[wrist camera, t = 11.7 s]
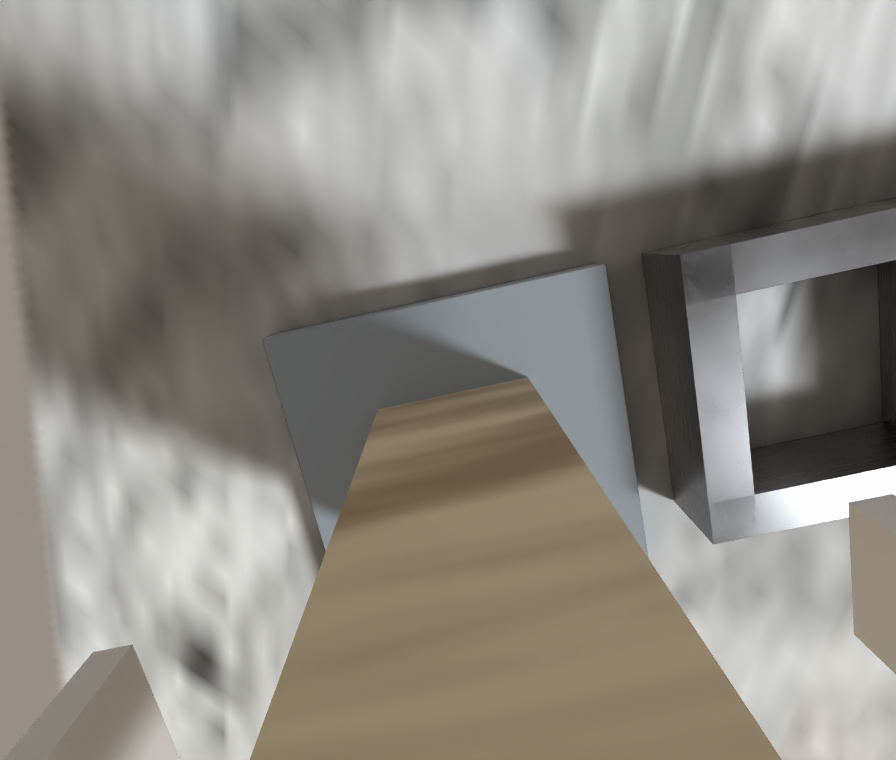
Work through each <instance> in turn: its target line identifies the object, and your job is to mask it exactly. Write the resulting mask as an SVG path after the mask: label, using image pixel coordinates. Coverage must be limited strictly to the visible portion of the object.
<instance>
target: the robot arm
mask: <svg viewBox="0 0 896 760" xmlns="http://www.w3.org/2000/svg"><path fill="white" fill-rule="evenodd" d="M848 509H849V531H850V553H851V576H852V598H853V620H854V635H855V636H856V637H858V638H859V639H860V640H861V641H862V642H863V643H864V644H865V645H866V646H867V647H868V648H869V649H870V650H871V651H872V652H873V653H874V654H875V655H876V656H877V657H878V658H879V659H881V660H882V661H883V662H884V663H885V664H886V665H887V666H888V667H889V668H890V669H891V670H892V671H893V672H894V673H895V674H896V495H894V494H887V495H882V496H877V497H872V498H867V499H862V500H857V501H852V502H848ZM3 760H180V758H179V755H178V753H177V750H176V748H175V746H174V743H173V741H172V738H171V736H170V734H169V731H168V729H167V726H166V724H165V722H164V719H163V717H162V714H161V712H160V710H159V707H158V705H157V702H156V700H155V698H154V695H153V693H152V690H151V688H150V686H149V683H148V681H147V678H146V676H145V674H144V671H143V669H142V666H141V664H140V662H139V659H138V657H137V654H136V652H135V650H134V647H133V645H128V646H123V647H118V648H113V649H108V650H103V651H98V652H93V653H92V654H91V655H90V656H89V658H88V659H87V660H86V661H85V662H84V664H83V665H82V666H81V667H80V668H79V670H78V671H77V672H76V673H75V674H74V676H73V677H72V678H71V679H70V680H69V682H68V683H67V684H66V685H65V686H64V687H63V689H62V690H61V691H60V692H59V693H58V695H57V696H56V697H55V698H54V699H53V701H52V702H51V703H50V704H49V705H48V707H47V708H46V709H45V710H44V711H43V713H42V714H41V715H40V716H39V717H38V718H37V720H36V721H35V722H34V723H33V724H32V726H31V727H30V728H29V729H28V730H27V732H26V733H25V734H24V735H23V737H22V738H21V739H20V740H19V741H18V742H17V743H16V745H15V746H14V747H13V748H12V749H11V751H10V752H9V753H8V755H7V756H6V757H5V758H4V759H3Z"/></svg>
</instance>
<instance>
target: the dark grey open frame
mask: <svg viewBox="0 0 896 760" xmlns="http://www.w3.org/2000/svg"><path fill="white" fill-rule="evenodd" d="M642 258H643V266H644V274H645V281H646V289H647V297H648V304H649V312H650V320H651V327H652V335H653V342H654V350H655V358H656V365H657V373H658V381H659V388H660V396H661V404H662V411H663V419H664V426H665V434H666V442H667V449H668V457H669V465H670V472H671V480H672V488H673V495H674V502H675V503H676V504H677V505H678V506H679V507H680V508H681V509H682V510H683V511H684V512H685V514H686V515H687V516H688V517H689V518H690V519H691V520H692V521H693V522H694V523H695V525H696V526H697V527H698V528H699V529H700V530H701V531H702V532H703V533H704V534H705V536H706V537H707V538H708V539H709V540H710V541H711V542H712V543H713V544H717V543H722V542H727V541H732V540H737V539H742V538H747V537H752V536H757V535H762V534H767V533H772V532H777V531H782V530H787V529H792V528H797V527H802V526H807V525H812V524H817V523H822V522H827V521H832V520H837V519H842V518H847V517H849V509H848V502H852V501H857V500H862V499H867V498H872V497H877V496H882V495H887V494H894V495H896V197H895V198H891V199H886V200H882V201H877V202H873V203H868V204H864V205H859V206H854V207H850V208H845V209H841V210H836V211H832V212H827V213H823V214H818V215H814V216H809V217H804V218H800V219H795V220H791V221H786V222H782V223H777V224H773V225H768V226H764V227H759V228H754V229H750V230H745V231H741V232H736V233H732V234H727V235H723V236H718V237H713V238H709V239H704V240H700V241H695V242H691V243H686V244H682V245H677V246H673V247H668V248H663V249H659V250H654V251H650V252H645V253H642ZM875 264H878V279H879V310H880V340H881V371H882V401H883V422H881V423H877V424H872V425H867V426H862V427H857V428H852V429H847V430H843V431H838V432H833V433H828V434H823V435H818V436H813V437H809V438H804V439H799V440H794V441H789V442H784V443H780V444H775V445H770V446H765V447H760V448H755V449H750V442H749V432H748V421H747V410H746V399H745V389H744V378H743V367H742V357H741V346H740V335H739V325H738V314H737V303H736V294H741V293H745V292H750V291H754V290H759V289H764V288H768V287H773V286H778V285H782V284H787V283H791V282H796V281H801V280H805V279H810V278H815V277H819V276H824V275H828V274H833V273H838V272H842V271H847V270H852V269H856V268H861V267H866V266H870V265H875Z"/></svg>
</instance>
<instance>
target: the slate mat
mask: <svg viewBox="0 0 896 760" xmlns="http://www.w3.org/2000/svg"><path fill="white" fill-rule="evenodd" d="M262 341H263V344H264V348H265V351H266V354H267V358H268V361H269V364H270V368H271V371H272V374H273V378H274V381H275V384H276V388H277V391H278V394H279V398H280V401H281V404H282V408H283V411H284V414H285V418H286V421H287V424H288V428H289V431H290V434H291V438H292V441H293V444H294V448H295V451H296V454H297V458H298V461H299V464H300V468H301V471H302V474H303V478H304V481H305V484H306V488H307V491H308V494H309V498H310V501H311V504H312V508H313V511H314V514H315V518H316V521H317V524H318V528H319V531H320V534H321V538H322V541H323V544H324V548H325V551H326V550H327V547H328V545H329V542H330V539H331V536H332V534H333V531H334V528H335V525H336V523H337V520H338V517H339V514H340V512H341V509H342V506H343V504H344V501H345V498H346V495H347V493H348V490H349V487H350V484H351V482H352V479H353V476H354V473H355V471H356V468H357V465H358V463H359V460H360V457H361V454H362V452H363V449H364V446H365V443H366V441H367V438H368V435H369V432H370V430H371V427H372V424H373V422H374V419H375V416H376V413H377V411H378V409H382V408H387V407H392V406H396V405H401V404H406V403H410V402H415V401H419V400H424V399H429V398H433V397H438V396H443V395H447V394H452V393H456V392H461V391H466V390H470V389H475V388H480V387H484V386H489V385H493V384H498V383H503V382H507V381H512V380H517V379H521V378H526V377H528V378H529V379H530V381H531V382H532V384H533V385H534V387H535V388H536V390H537V391H538V393H539V395H540V396H541V398H542V399H543V401H544V402H545V404H546V405H547V407H548V408H549V410H550V411H551V413H552V414H553V416H554V417H555V419H556V420H557V422H558V423H559V425H560V426H561V428H562V429H563V431H564V432H565V434H566V435H567V437H568V438H569V440H570V441H571V443H572V444H573V446H574V447H575V449H576V450H577V452H578V453H579V455H580V456H581V458H582V459H583V461H584V462H585V464H586V465H587V467H588V468H589V470H590V471H591V473H592V474H593V476H594V477H595V479H596V480H597V482H598V484H599V485H600V487H601V488H602V490H603V491H604V493H605V494H606V496H607V497H608V499H609V500H610V502H611V503H612V505H613V506H614V508H615V509H616V511H617V512H618V514H619V515H620V517H621V518H622V520H623V521H624V523H625V524H626V526H627V527H628V529H629V530H630V532H631V533H632V535H633V536H634V538H635V539H636V541H637V542H638V544H639V545H640V547H641V548H642V550H643V551H644V553H645V554H646V556H647V557H648V552H647V546H646V539H645V532H644V525H643V518H642V512H641V505H640V498H639V491H638V484H637V477H636V471H635V464H634V457H633V450H632V443H631V437H630V430H629V423H628V416H627V409H626V403H625V396H624V389H623V382H622V375H621V369H620V362H619V355H618V348H617V341H616V335H615V328H614V321H613V314H612V307H611V300H610V294H609V287H608V280H607V273H606V266H605V264H598V263H595V264H591V265H586V266H582V267H577V268H573V269H568V270H563V271H559V272H554V273H550V274H545V275H541V276H536V277H532V278H527V279H523V280H518V281H513V282H509V283H504V284H500V285H495V286H491V287H486V288H482V289H477V290H472V291H468V292H463V293H459V294H454V295H450V296H445V297H441V298H436V299H432V300H427V301H422V302H418V303H413V304H409V305H404V306H400V307H395V308H391V309H386V310H382V311H377V312H372V313H368V314H363V315H359V316H354V317H350V318H345V319H341V320H336V321H332V322H327V323H322V324H318V325H313V326H309V327H304V328H300V329H295V330H291V331H286V332H282V333H277V334H272V335H270V336H268V337H266V338H264V339H263V340H262Z"/></svg>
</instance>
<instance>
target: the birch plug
mask: <svg viewBox="0 0 896 760" xmlns="http://www.w3.org/2000/svg"><path fill="white" fill-rule="evenodd" d="M250 760H781V758H780V757H779V755H778V753H777V752H776V750H775V749H774V747H773V746H772V744H771V743H770V741H769V740H768V738H767V737H766V735H765V734H764V732H763V731H762V729H761V728H760V726H759V725H758V723H757V722H756V720H755V719H754V717H753V716H752V714H751V713H750V711H749V710H748V708H747V707H746V705H745V704H744V702H743V701H742V699H741V698H740V696H739V695H738V693H737V692H736V690H735V689H734V687H733V686H732V684H731V683H730V681H729V680H728V678H727V677H726V675H725V674H724V672H723V671H722V669H721V668H720V666H719V665H718V663H717V661H716V660H715V658H714V657H713V655H712V654H711V652H710V651H709V649H708V648H707V646H706V645H705V643H704V642H703V640H702V639H701V637H700V636H699V634H698V633H697V631H696V630H695V628H694V627H693V625H692V624H691V622H690V621H689V619H688V618H687V616H686V615H685V613H684V612H683V610H682V609H681V607H680V606H679V604H678V603H677V601H676V600H675V598H674V597H673V595H672V594H671V592H670V591H669V589H668V588H667V586H666V585H665V583H664V582H663V580H662V579H661V577H660V576H659V574H658V572H657V571H656V569H655V568H654V566H653V565H652V563H651V562H650V560H649V559H648V557H647V556H646V554H645V553H644V551H643V550H642V548H641V547H640V545H639V544H638V542H637V541H636V539H635V538H634V536H633V535H632V533H631V532H630V530H629V529H628V527H627V526H626V524H625V523H624V521H623V520H622V518H621V517H620V515H619V514H618V512H617V511H616V509H615V508H614V506H613V505H612V503H611V502H610V500H609V499H608V497H607V496H606V494H605V493H604V491H603V490H602V488H601V487H600V485H599V484H598V482H597V480H596V479H595V477H594V476H593V474H592V473H591V471H590V470H589V468H588V467H587V465H586V464H585V462H584V461H583V459H582V458H581V456H580V455H579V453H578V452H577V450H576V449H575V447H574V446H573V444H572V443H571V441H570V440H569V438H568V437H567V435H566V434H565V432H564V431H563V429H562V428H561V426H560V425H559V423H558V422H557V420H556V419H555V417H554V416H553V414H552V413H551V411H550V410H549V408H548V407H547V405H546V404H545V402H544V401H543V399H542V398H541V396H540V395H539V393H538V391H537V390H536V388H535V387H534V385H533V384H532V382H531V381H530V379H529V378H528V377H526V378H521V379H517V380H512V381H507V382H503V383H498V384H493V385H489V386H484V387H480V388H475V389H470V390H466V391H461V392H456V393H452V394H447V395H443V396H438V397H433V398H429V399H424V400H419V401H415V402H410V403H406V404H401V405H396V406H392V407H387V408H382V409H378V411H377V413H376V416H375V419H374V422H373V424H372V427H371V430H370V432H369V435H368V438H367V441H366V443H365V446H364V449H363V452H362V454H361V457H360V460H359V463H358V465H357V468H356V471H355V473H354V476H353V479H352V482H351V484H350V487H349V490H348V493H347V495H346V498H345V501H344V504H343V506H342V509H341V512H340V514H339V517H338V520H337V523H336V525H335V528H334V531H333V534H332V536H331V539H330V542H329V545H328V547H327V550H326V553H325V556H324V558H323V561H322V564H321V566H320V569H319V572H318V575H317V577H316V580H315V583H314V586H313V588H312V591H311V594H310V597H309V599H308V602H307V605H306V607H305V610H304V613H303V616H302V618H301V621H300V624H299V627H298V629H297V632H296V635H295V638H294V640H293V643H292V646H291V648H290V651H289V654H288V657H287V659H286V662H285V665H284V668H283V670H282V673H281V676H280V679H279V681H278V684H277V687H276V690H275V692H274V695H273V698H272V700H271V703H270V706H269V709H268V711H267V714H266V717H265V720H264V722H263V725H262V728H261V731H260V733H259V736H258V739H257V741H256V744H255V747H254V750H253V752H252V755H251V758H250Z"/></svg>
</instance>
